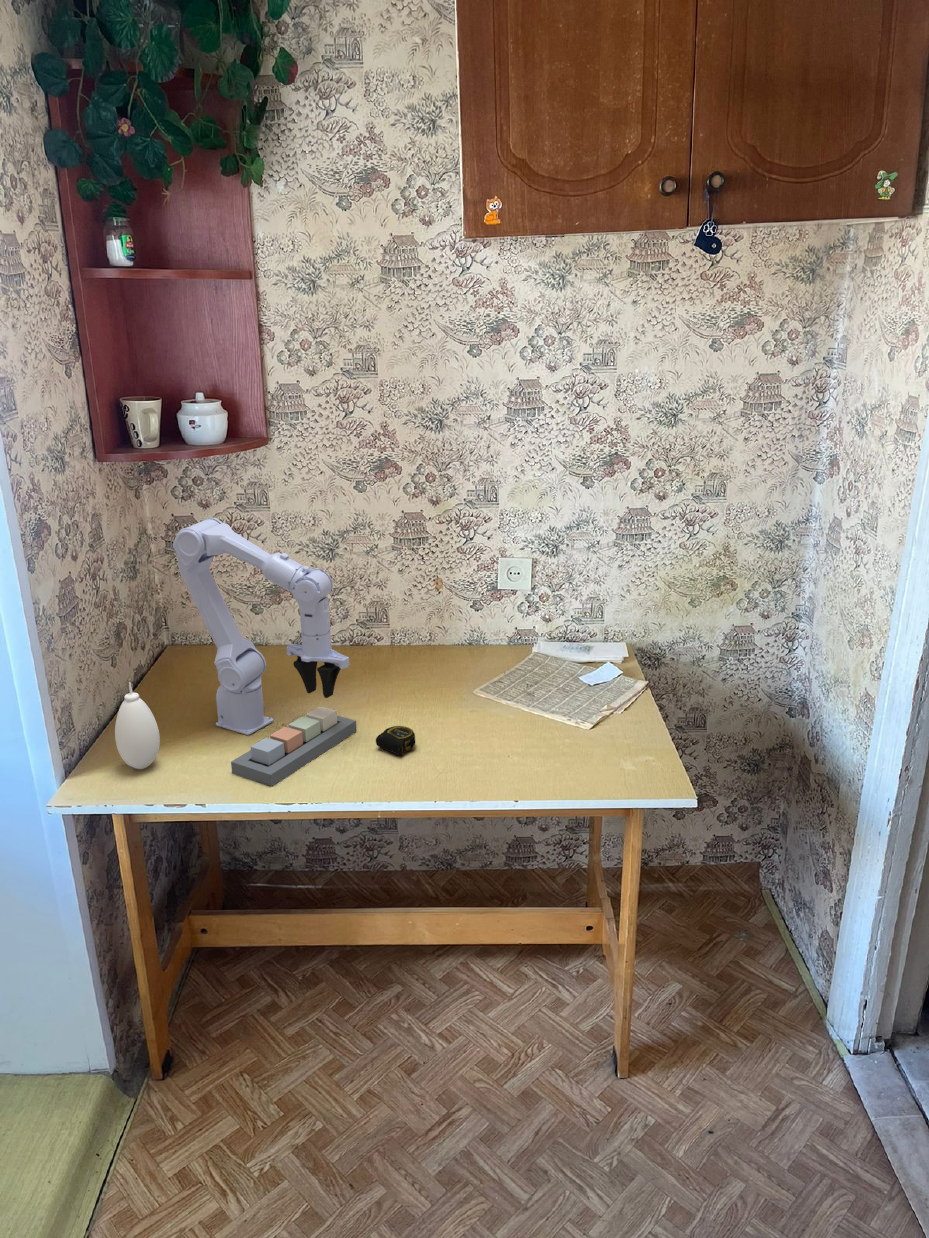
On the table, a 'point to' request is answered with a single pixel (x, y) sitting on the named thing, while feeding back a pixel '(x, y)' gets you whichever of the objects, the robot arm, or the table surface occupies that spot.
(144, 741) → the white bulb syringe
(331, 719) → the ivory key
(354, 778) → the table surface
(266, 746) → the slate key
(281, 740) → the terracotta key
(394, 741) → the tape measure
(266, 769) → the key panel
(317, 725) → the sage key
